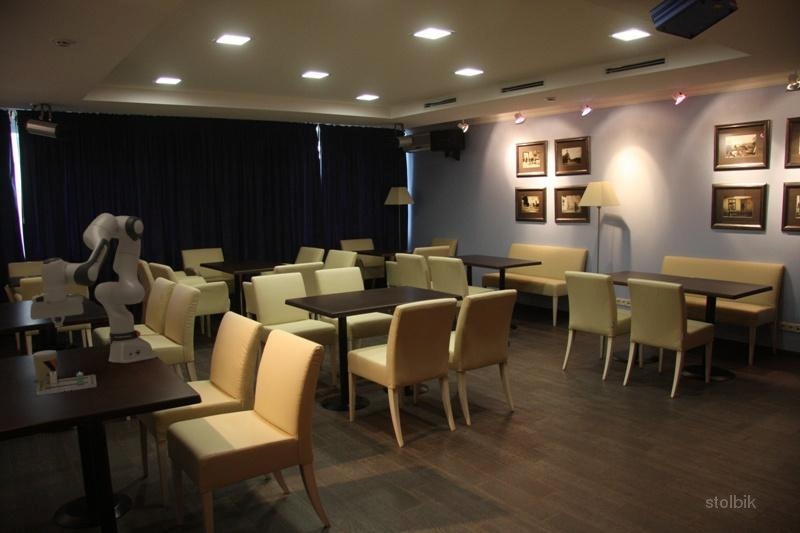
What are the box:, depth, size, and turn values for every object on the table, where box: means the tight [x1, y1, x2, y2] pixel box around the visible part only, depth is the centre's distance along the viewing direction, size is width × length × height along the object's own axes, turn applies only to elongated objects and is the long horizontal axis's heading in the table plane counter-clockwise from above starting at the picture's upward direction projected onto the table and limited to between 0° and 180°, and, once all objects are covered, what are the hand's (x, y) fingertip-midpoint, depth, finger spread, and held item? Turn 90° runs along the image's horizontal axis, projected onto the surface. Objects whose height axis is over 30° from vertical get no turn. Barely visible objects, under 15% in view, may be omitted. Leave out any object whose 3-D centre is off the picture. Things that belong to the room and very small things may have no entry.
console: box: [36, 373, 98, 396], centre depth 257 cm, size 22×15×2 cm
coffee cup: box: [32, 349, 58, 382], centre depth 269 cm, size 9×9×12 cm
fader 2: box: [76, 371, 84, 385], centre depth 256 cm, size 2×4×4 cm, turn 29°
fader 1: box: [50, 371, 58, 384], centre depth 258 cm, size 2×4×4 cm, turn 29°
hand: (59, 326), depth 262 cm, fingers closed
